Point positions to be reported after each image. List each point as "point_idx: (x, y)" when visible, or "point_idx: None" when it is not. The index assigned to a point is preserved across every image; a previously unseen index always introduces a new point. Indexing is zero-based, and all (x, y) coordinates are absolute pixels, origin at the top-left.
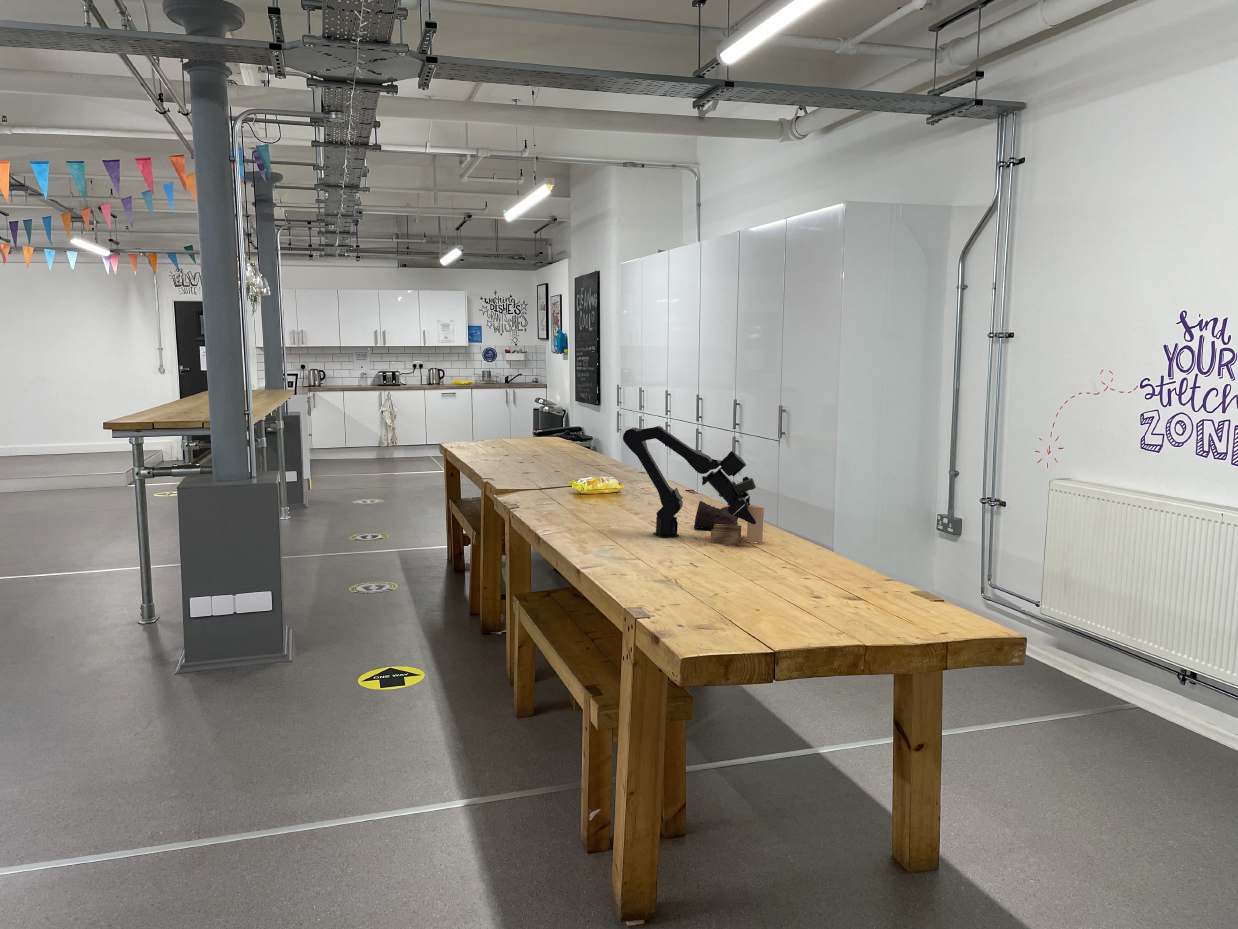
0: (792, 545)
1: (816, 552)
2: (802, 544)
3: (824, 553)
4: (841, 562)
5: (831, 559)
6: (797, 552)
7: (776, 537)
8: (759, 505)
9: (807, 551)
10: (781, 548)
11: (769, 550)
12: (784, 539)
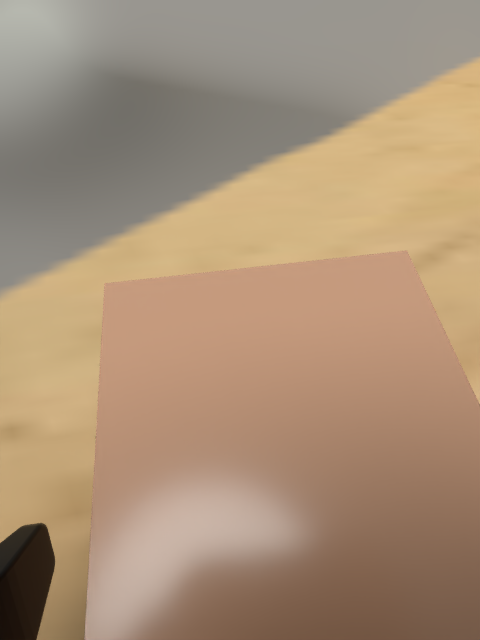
0: (236, 267)
1: (340, 162)
2: (182, 228)
3: (339, 138)
4: (458, 88)
5: (436, 113)
6: (403, 226)
7: (6, 391)
8: (124, 397)
9: (345, 193)
10: None
11: (475, 365)
12: (67, 331)
